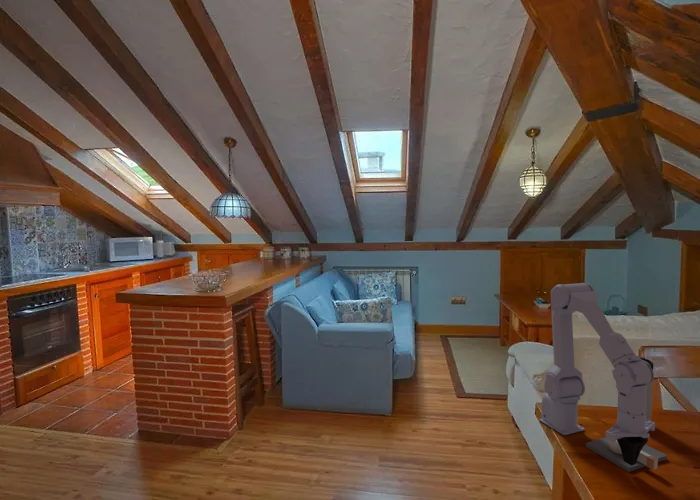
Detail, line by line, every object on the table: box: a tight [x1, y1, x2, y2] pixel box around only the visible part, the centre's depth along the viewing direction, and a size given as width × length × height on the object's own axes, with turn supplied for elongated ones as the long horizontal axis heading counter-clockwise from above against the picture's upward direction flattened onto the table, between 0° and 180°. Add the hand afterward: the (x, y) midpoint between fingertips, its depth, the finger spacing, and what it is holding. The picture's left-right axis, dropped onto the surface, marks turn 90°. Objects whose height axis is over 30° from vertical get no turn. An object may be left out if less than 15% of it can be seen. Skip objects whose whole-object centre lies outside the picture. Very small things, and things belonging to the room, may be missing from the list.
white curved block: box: [609, 440, 659, 471], centre depth 104 cm, size 12×5×2 cm, turn 20°
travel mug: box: [639, 356, 654, 421], centre depth 122 cm, size 6×7×20 cm
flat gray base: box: [585, 436, 668, 473], centre depth 108 cm, size 12×14×1 cm
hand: (629, 462), depth 100 cm, fingers closed
